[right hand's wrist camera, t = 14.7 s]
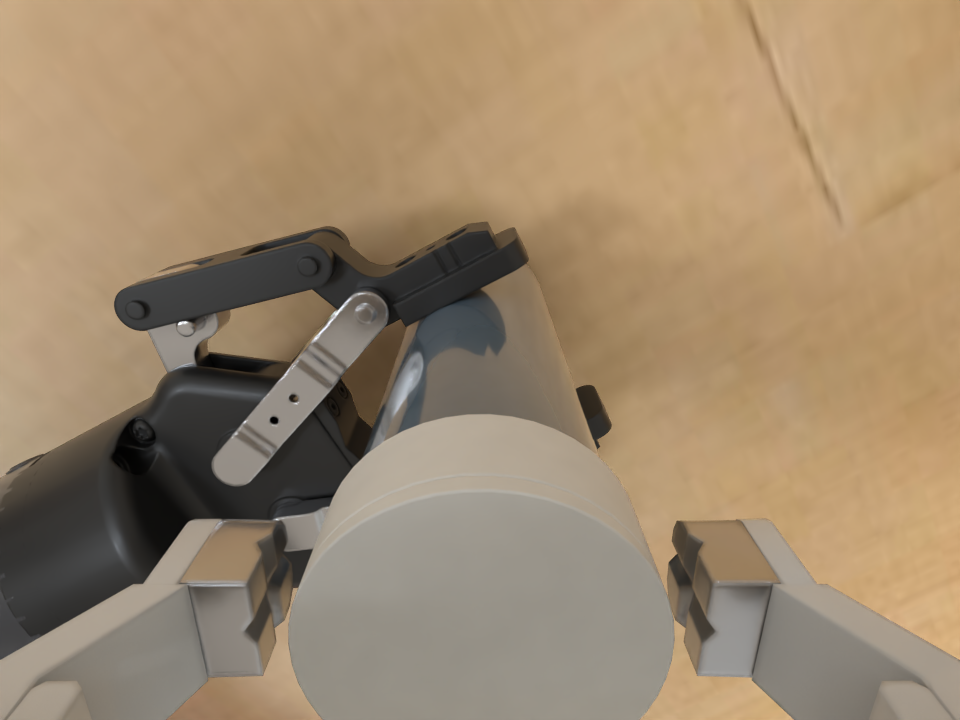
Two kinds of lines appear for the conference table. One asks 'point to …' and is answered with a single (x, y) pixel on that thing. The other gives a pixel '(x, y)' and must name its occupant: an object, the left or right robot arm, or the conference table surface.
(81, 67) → the conference table surface
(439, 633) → the lid
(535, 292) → the bottle
